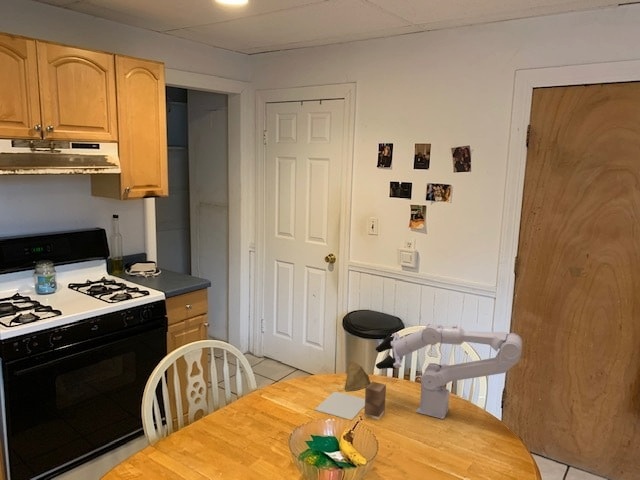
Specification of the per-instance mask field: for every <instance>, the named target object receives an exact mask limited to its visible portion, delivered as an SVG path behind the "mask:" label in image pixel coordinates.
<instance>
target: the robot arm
mask: <svg viewBox="0 0 640 480" xmlns="http://www.w3.org/2000/svg"><path fill="white" fill-rule="evenodd" d="M465 342H466V343H473V344H480V345H481V344H482V345H488V346H490V347H491V348H492V349H493V350H494V351H495V352H497V354H496V356H495V357H491V358H485V359H479V360H473V361H472V360H471V361H467V362H463V363H457V364H449V365H448V364H447V363H446V364H445V363H443V364H441V363H440V364H439V363H434V362H433V363H429V364H428V365H427V366H426V369H425V370H424V372H423V373H422V374H421V376H420V384H421V385H420V398H419V399H420V402H419V406H418V408H417V409H416V413H418V414H422V415H425V416H430V417H434V418H438V419H441V420H444V419H445V418H446V415H447V414H448V412H449V410H450V408H449V406H450V405H449V404H450V390H449V389H448V388H445V387H443V386H446V385H447V384H450V383H451V382H456V381H461V380H468V379H474V378H482V377H488V376H495V375H501V374H505V373H506V372H508V371H509V370H510V369H512V367H514V365H516V364H518V363H519V361H520V359H521V357H522V353H523V352H522V351H523V350H522V348H523V347H524V346H523V344H524V342H523V339H522V337H521V336H520V335H519V334H517V333H513V332H509V333H508V332H505V331H466V330H464V329H463V328H462V327H460V326H459V327H458V325H455V324H453V325H452V326H444V325H442V324H435V323H428V324H427V325H426V326H425V328H422V329H420V330H417V331H415V332H413V333H411V334H409V335H406V336H403V337H402V338H400V334H398V332H394V333H392V334H391V336H390V335H389V334H388V335H387V336H386V337H385V339H384V340H383V341H382V342H381V343H380V344H378V345H377V346H376V347H375V350H376V352H377V353H382V352H385V351H388V350H393V357H392V355H391V354H389V355H388V356H387V357H385V358H384V359H383V360H381V361H379V362H378V363H376V364H375V367H376V368H377V370H384V369H391V370H392V369H393V370H398V369H400V368H402V363H403V358H404V357H406V356H407V355H409V354H412V353H414V352H416V351H418V350H420V349H423V348H425V347H426V346H429V345H430V346H435V345H437V344H438V343H439V344H444V345H445V344H447V345H456V346H457V345H458V346H459V345H460V346H461V345H462V344H463V343H465Z"/></svg>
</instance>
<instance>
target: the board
mask: <svg viewBox="0 0 640 480" xmlns="http://www.w3.org/2000/svg"><path fill="white" fill-rule="evenodd" d="M363 409H365V398H362V397H359V396H355V395H350V394H347V393H343V392H340V391H336V390H335V391H333V392H332V393H331V394H330V395H329V396H328V397H327V398H325V399H324V400H323V401H322V402H321V403H320V404H319V405H317V406H316V407H315V408H314V409H313V410H314V411H315V412H320V413H323V414H327V415H330V416H333V417H337V418H341V419H344V420H347V419H353V420H354V419H355V418H356V416H358V414H359V413H360V412H361V411H362V410H363Z"/></svg>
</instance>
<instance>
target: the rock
mask: <svg viewBox="0 0 640 480" xmlns="http://www.w3.org/2000/svg"><path fill="white" fill-rule="evenodd" d="M371 382H372V381H371V380H370V375H368V374H367V373H366V371H365V370H364V368H363V366H362V365H360V364H358V363H357V362H356V361H355V362H354V361H348V366H347V373H346V380H345V384H344V387H345V388H344V390H345V392H350V391H351V392H352V391H359V390H361V389H366V387H367V386H368V385H369V384H370V383H371Z"/></svg>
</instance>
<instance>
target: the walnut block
mask: <svg viewBox="0 0 640 480" xmlns="http://www.w3.org/2000/svg"><path fill="white" fill-rule="evenodd" d="M370 382H371V383H370V384H369V385H368V386H367V387H365V391H364V392H365V393H364V399H365V407H364V417H367V418H369V419H373V420H377V421H379V420H380V419H381V418H382V416H383V415H384V414H385V411H386V410H385V409H386V407H385V406H386V394H387V392H386V391H387V384H384V383H381V382H375V381H370Z"/></svg>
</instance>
